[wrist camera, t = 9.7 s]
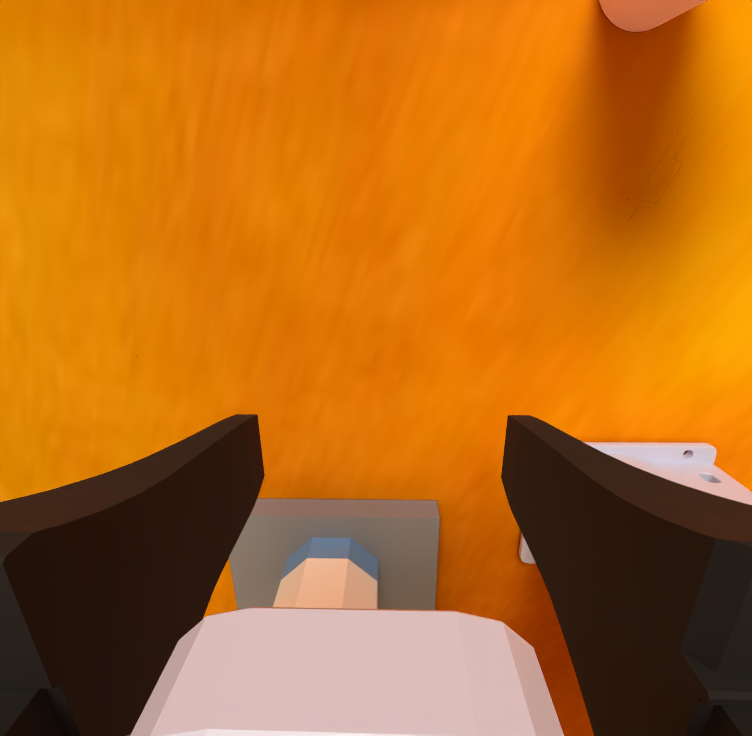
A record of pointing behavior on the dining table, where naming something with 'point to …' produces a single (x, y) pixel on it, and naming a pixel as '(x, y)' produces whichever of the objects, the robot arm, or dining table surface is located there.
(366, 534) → the pin board
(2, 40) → the dining table surface
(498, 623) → the robot arm
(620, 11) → the smoothie
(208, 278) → the dining table surface
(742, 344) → the dining table surface
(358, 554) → the sleeve
